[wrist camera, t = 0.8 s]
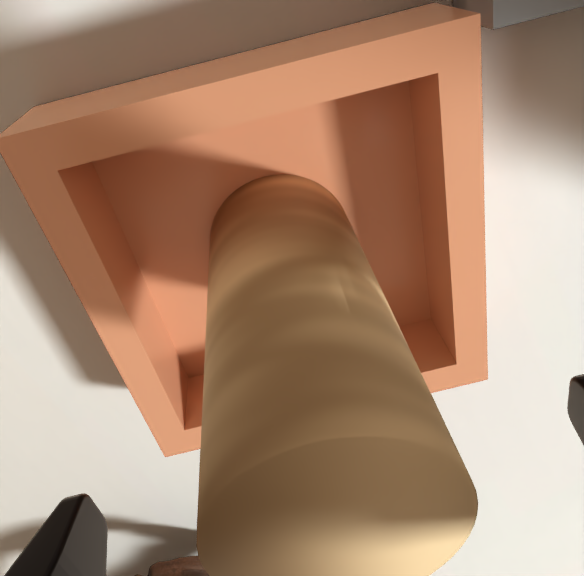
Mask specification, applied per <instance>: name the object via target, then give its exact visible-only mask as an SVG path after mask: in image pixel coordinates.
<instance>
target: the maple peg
mask: <svg viewBox="0 0 584 576" xmlns="http://www.w3.org/2000/svg"><path fill="white" fill-rule="evenodd" d="M477 510H478V499H477V493H476V489H475V487H474V484H473V482H472V480H471V478H470V475H469V473H468V471H467V469H466V467H465V465H464V463H463V461H462V459H461V456H460V454H459V452H458V450H457V448H456V446H455V444H454V442H453V439H452V437H451V435H450V433H449V431H448V429H447V427H446V425H445V423H444V420H443V418H442V416H441V414H440V412H439V410H438V408H437V406H436V404H435V401H434V399H433V397H432V395H431V393H430V391H429V389H428V387H427V385H426V382H425V380H424V378H423V376H422V374H421V372H420V370H419V368H418V365H417V363H416V361H415V359H414V357H413V355H412V353H411V351H410V349H409V346H408V344H407V342H406V340H405V338H404V336H403V334H402V332H401V330H400V327H399V325H398V323H397V321H396V319H395V317H394V315H393V313H392V311H391V308H390V306H389V304H388V302H387V300H386V298H385V296H384V294H383V291H382V289H381V287H380V285H379V283H378V281H377V279H376V277H375V275H374V272H373V270H372V268H371V266H370V264H369V262H368V260H367V258H366V256H365V253H364V251H363V249H362V247H361V245H360V243H359V241H358V239H357V237H356V234H355V232H354V230H353V228H352V226H351V224H350V222H349V220H348V218H347V215H346V213H345V211H344V209H343V207H342V206H341V204H340V202H339V201H338V200H337V199H336V197H335V196H334V195H333V194H332V193H331V192H330V191H329V190H328V189H326V188H325V187H323V186H322V185H320V184H319V183H317V182H315V181H313V180H310V179H308V178H305V177H301V176H296V175H288V174H278V175H269V176H264V177H261V178H258V179H254V180H252V181H250V182H248V183H246V184H244V185H243V186H241V187H239V188H238V189H236V190H235V191H234V192H233V193H232V194H230V195H229V196H228V198H227V199H226V200H225V201H224V202H223V203H222V205H221V206H220V208H219V209H218V211H217V213H216V215H215V217H214V220H213V223H212V226H211V232H210V249H209V271H208V293H207V316H206V338H205V361H204V383H203V405H202V428H201V450H200V472H199V495H198V517H197V543H196V547H197V551H198V556H199V559H200V561H201V563H202V566H203V568H204V569H205V570H206V572H207V573H208V574H209V576H429V575H430V574H432V573H433V572H435V571H436V570H437V569H439V568H440V567H441V566H443V565H444V564H445V563H446V562H447V561H448V560H449V559H451V558H452V557H453V556H454V555H455V553H456V552H457V551H458V550H459V549H460V548H461V547H462V545H463V544H464V542H465V541H466V539H467V538H468V536H469V535H470V533H471V531H472V528H473V526H474V524H475V520H476V516H477Z"/></svg>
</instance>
